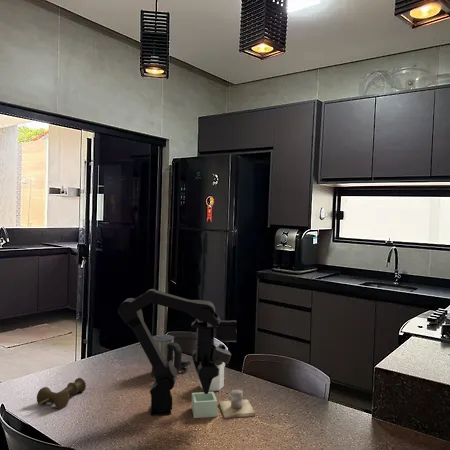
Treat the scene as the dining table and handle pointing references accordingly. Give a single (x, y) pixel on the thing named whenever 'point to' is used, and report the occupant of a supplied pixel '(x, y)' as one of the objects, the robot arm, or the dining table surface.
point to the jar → (219, 380)
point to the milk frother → (170, 351)
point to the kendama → (60, 394)
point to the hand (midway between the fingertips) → (204, 387)
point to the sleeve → (204, 405)
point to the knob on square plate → (236, 406)
